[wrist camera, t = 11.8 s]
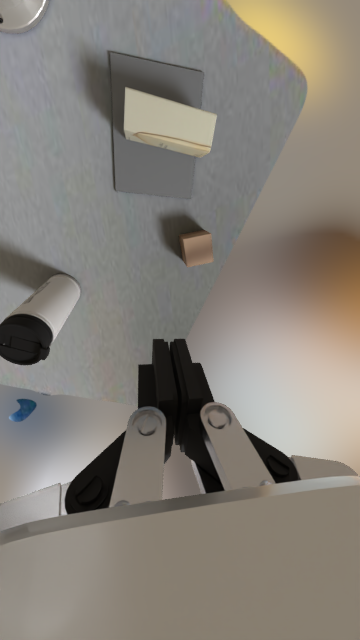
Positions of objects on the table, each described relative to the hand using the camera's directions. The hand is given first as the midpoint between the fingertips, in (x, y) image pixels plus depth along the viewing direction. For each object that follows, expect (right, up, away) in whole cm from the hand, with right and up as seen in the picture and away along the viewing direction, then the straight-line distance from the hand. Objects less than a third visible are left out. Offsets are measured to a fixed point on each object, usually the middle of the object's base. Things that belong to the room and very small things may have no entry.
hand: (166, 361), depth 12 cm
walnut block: (+3, +17, +32) cm, 36 cm away
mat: (-3, +31, +23) cm, 39 cm away
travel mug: (-22, +9, +32) cm, 40 cm away
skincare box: (+5, +29, +21) cm, 36 cm away
